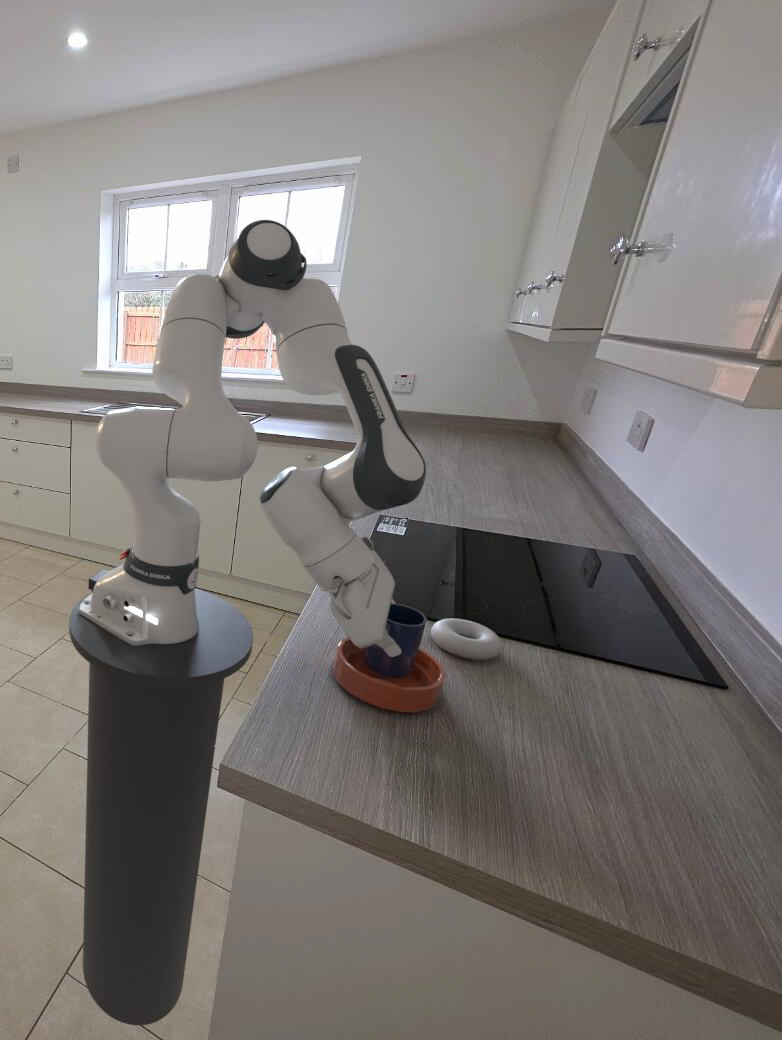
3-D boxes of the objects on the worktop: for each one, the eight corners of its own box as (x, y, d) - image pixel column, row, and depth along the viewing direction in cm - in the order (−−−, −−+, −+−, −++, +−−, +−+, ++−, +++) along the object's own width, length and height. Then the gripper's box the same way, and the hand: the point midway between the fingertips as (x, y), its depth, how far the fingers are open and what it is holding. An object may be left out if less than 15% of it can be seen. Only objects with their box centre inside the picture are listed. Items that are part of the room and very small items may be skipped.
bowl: (320, 688, 85) (325, 663, 84) (346, 647, 96) (352, 624, 94) (427, 730, 77) (436, 703, 75) (444, 680, 87) (452, 656, 85)
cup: (359, 666, 85) (372, 616, 82) (370, 647, 90) (382, 598, 86) (406, 684, 81) (422, 631, 78) (415, 663, 86) (430, 612, 82)
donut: (487, 637, 99) (422, 626, 102) (493, 620, 97) (428, 610, 100) (507, 670, 90) (436, 657, 93) (514, 652, 89) (442, 639, 92)
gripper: (349, 584, 74) (416, 669, 73) (368, 532, 90) (424, 601, 89) (307, 604, 78) (370, 684, 77) (333, 551, 94) (386, 617, 93)
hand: (399, 639), depth 83 cm, fingers closed on cup, 6 cm apart
